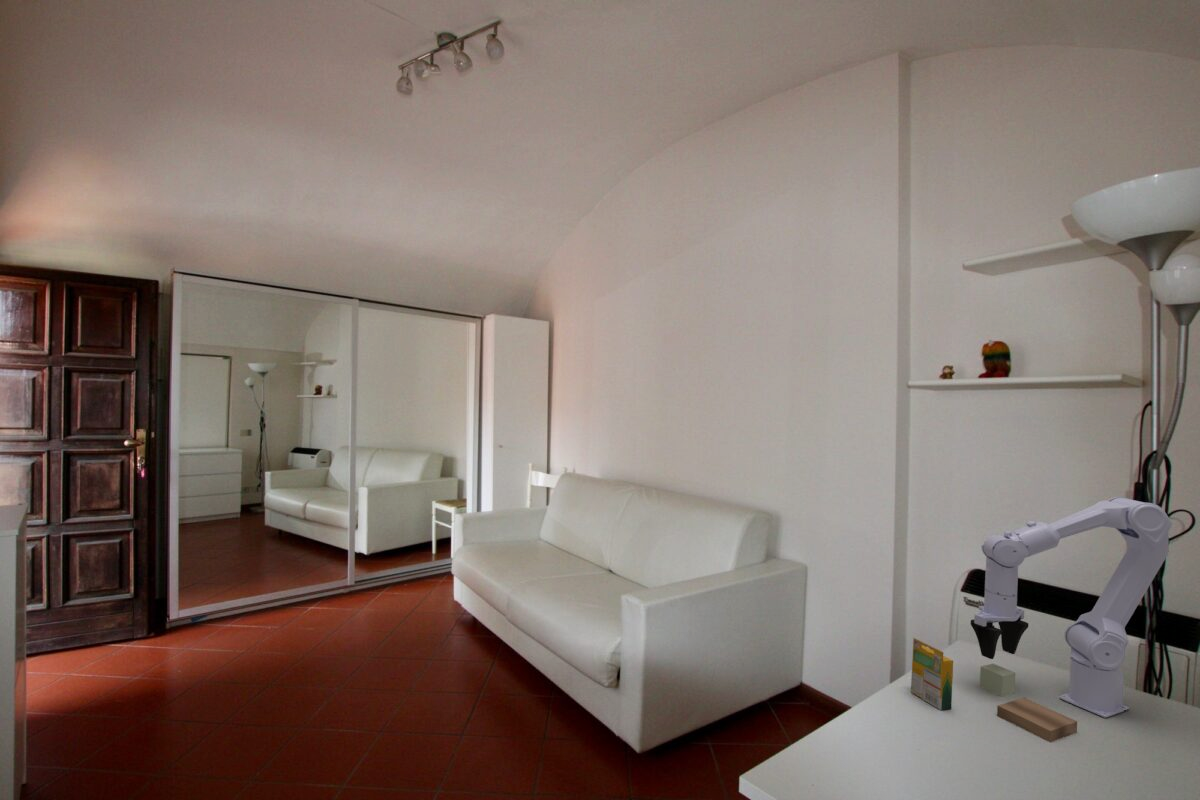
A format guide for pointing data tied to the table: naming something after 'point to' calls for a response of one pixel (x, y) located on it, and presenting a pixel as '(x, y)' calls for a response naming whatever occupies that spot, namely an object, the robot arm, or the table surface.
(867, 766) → the table surface
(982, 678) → the sage cube
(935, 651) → the crayon box
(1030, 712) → the walnut base block
